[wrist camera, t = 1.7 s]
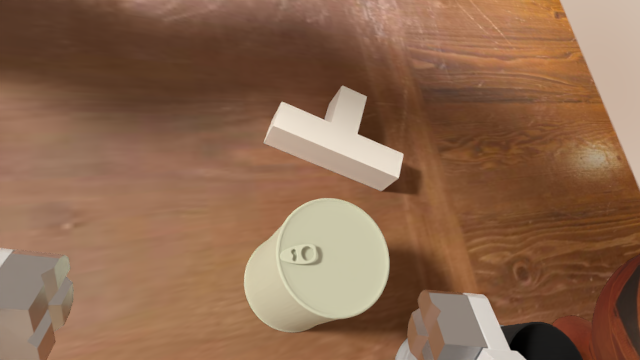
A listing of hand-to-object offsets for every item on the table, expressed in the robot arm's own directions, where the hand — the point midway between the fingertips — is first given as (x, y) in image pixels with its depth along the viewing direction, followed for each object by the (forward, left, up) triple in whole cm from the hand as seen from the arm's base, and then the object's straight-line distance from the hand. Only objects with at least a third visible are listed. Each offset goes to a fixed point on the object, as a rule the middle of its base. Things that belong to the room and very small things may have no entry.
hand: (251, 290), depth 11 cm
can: (0, +12, -33) cm, 35 cm away
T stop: (-12, +24, -33) cm, 43 cm away
